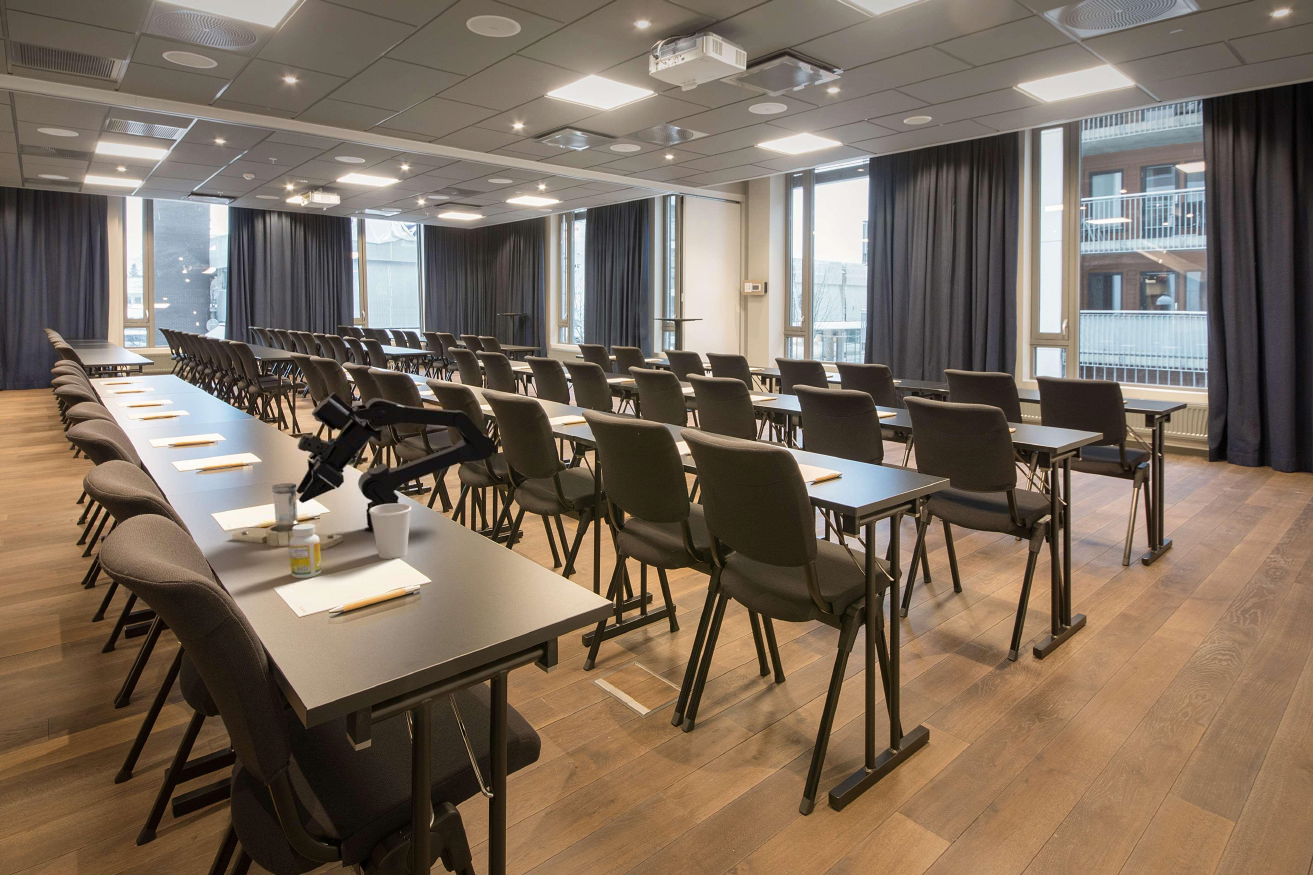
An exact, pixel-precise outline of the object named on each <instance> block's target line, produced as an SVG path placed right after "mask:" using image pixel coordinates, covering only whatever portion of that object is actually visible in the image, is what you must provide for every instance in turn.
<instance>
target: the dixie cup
mask: <svg viewBox="0 0 1313 875" xmlns="http://www.w3.org/2000/svg"><path fill="white" fill-rule="evenodd" d="M411 510H412V506H410V505H409V504H406V503H399V504H398V503H395V504H383V505H378V506H375V507H372V508H371V509H370V510H369V513H370V514H371V519H372V524H373V529H374V531H373V534H374V539H375V544H376V550H377V554H378V557H379V558H381V559H386V560H387V559H388V560H389V559H391V560H392V558H394V559H398V558H397V557H400V558H403V557H405V556H407V554H408V543H409V531H410V530H409V529H410V521H411V520H410V518H411Z"/></svg>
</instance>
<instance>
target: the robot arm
mask: <svg viewBox="0 0 1313 875" xmlns="http://www.w3.org/2000/svg"><path fill="white" fill-rule="evenodd" d="M311 415H312V417H314V418H315V419H317V420H318V422H320V423H322V424H323V425H324V426H326V428H329V430H331V431H335V430H336V429H337V430H338V431H341V430H342V431H341V432H340V433H339V434H338V435H337V436H336V437H331V438H330V439H329V440H324V439H322V438H321V436H316V435H315V434H313V435H310V434H307V433H304V432H303V433H302V435H301V436H300V439H299V441H298V444H297V448H298V450H300V451H303V452H308V453H310V454H309V455H308V459H307V467H308V470H306V473H305V474H304V476H303V478H302V480H301V482H300V483H299V485H298V487H296V493H297V494H299V495H300V497H299V499H298V502H300V503H301V504H304V503H306V502H308V501H311V500H312V499H314V498H317V497H319V496H321V495H324V494H325V493H328V492H330V491H333V490H336V488H337V489H339V488H340V487H341V486H342V484H344V482H345V477H344V474H343V473H344V472H345V470H344V469H345V467H347V466H348V464H349V463H351V461H352V460H353V461H355V460H356V459H357V458H358V456H357V455H358V454H359V452H360V451H361V450H362V449H363V448H364V447H365V446H366V445H367V444H368V443H369V442H370V440H371V439H372V438H374V439H375V440H376V441H378V442H379V443H381V442H382V441H383V439H382V428H374V427H373V426H372V425H374V426H375V425H376V426H379V427H380V426H381V427H382V426H394V425H401V424H418V425H427V426H442V427H450V428H451V427H452V428H455V430H456V431H457V432H458V434H459V435H460V437H461V439H460V440H458V442H457V443H455V444H454V445H452V446H451V447H447V448H446V449H442V450H440V451H437V452H434V453H432V454H429V455H426V456H424V457H423V456H422V457H421V458H418V459H416V460H413V461H410V462H407V463H403V464H401V465H399V466H395V467H388V465H387V464H386V463H384V462H383V463H381V464H378V465H377V466H375V467H372V468H371V467H370V468H369V467H367V468H366V470H367V471H365V472H363V473H362V474H361V475H360V477H359V479H358V483H357V485H358V486H357V487H358V489H359V490H360V492H361V493H362V495H363V497H364V498H366V499H367V500H369V501H370V502H368V503H367V504H366V505H367V508H366V510H365V511H366V525H367V527H365V528H364V531H365V532H366V531H367V532H374V529H373V524H372V519H371V514H370V513H369V510H370V509H371V508H372V507H375V506H378V505H383V504H395V503H398V504H400V503H399V495H398V494H397V493H396V492H395V491H396V490H398V489H399V488H400V487H402V486H403V485H404V484H408V483H410V482H412V481H415V480H417V479H420V478H423V477H426V476H429V475H432V474H433V473H437V472H439V471H441V470H445V469H447V468H450V467H453V466H455V465H457V464H462V463H471V462H479V461H483V460H488V459H490V458H491V457H493V455H494V453H495V450H496V442H495V441H494V439H492V438H491V437H489V436H488V435H486V434H484V433H483V431H481V429H479V428H478V427H477V426H476V424H474V422H473V421H472V420H471V418H470V417H469V415H468V414H467V413H466V412H464V411H463V410H460V409H459V410H458V409H455V410H449V409H440V408H427V407H418V406H408V405H404V404H401V403H398V402H394V401H391V400H387V399H384V398H379V397H377V398H376V397H374V398H371V399H369V400H368V401H367V402H366V403H363V404H359V405H353V406H350V405H349V404H348V403H346V402H345V401H344V400H343V399H342V398H341V397H340V396H339V395H338V394H337V393H336V392H332V393H331V394H330V395H328V396H327V397H326V398H325V399H324V400H323V401H322V400H321V401H320V403H318V404H317V405H316V407H315V408H314V409H313V410H312V412H311ZM353 415H354V416H356V417H357V418H358V419H359V420H363V422H362V423H361V422H360V421H358V419H356V418H354V417H353ZM365 420H366V421H365ZM367 421H369V422H370V423H371V424H372V425H371V424H370V423H368V422H367Z"/></svg>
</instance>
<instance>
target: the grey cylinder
mask: <svg viewBox="0 0 1313 875" xmlns="http://www.w3.org/2000/svg"><path fill="white" fill-rule="evenodd" d="M271 490H272V491H271V492H272V493H273V504H274V516H275V518H274V519H275V525H276V531H277V532H285V531H292V527H293V526H296V525H298V522H299V520H298V507H297V492H296V490H297V483H291V482H288V483H287V482H285V483H278V484H274V485H272V486H271Z"/></svg>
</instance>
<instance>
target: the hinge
mask: <svg viewBox="0 0 1313 875" xmlns="http://www.w3.org/2000/svg"><path fill="white" fill-rule="evenodd" d="M299 524H306V523H304V522H299V521H298V525H299ZM314 534H315V535H317V536H318V537H319V539H320V550H326V549H329V548H330V547H333V546H335V545H338V544H339V543H342V542H344V536H343V535H338V534H326V533H325V534H324V533H318V532H315V533H314ZM292 537H294V535H293V533H292V531H285V532H277V531H276V524H273V525H271V526H267V528H263V527H254V526H253V527H251V528H247V529H245V530H242V531H239V532H236V533H233V534H232V541H238V542H239V541H242V542H250V543H259V544H263V543H266V544H267V545H268V546H273V547H287V546H289V547H290V545H289V542H290V539H291V538H292Z"/></svg>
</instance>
